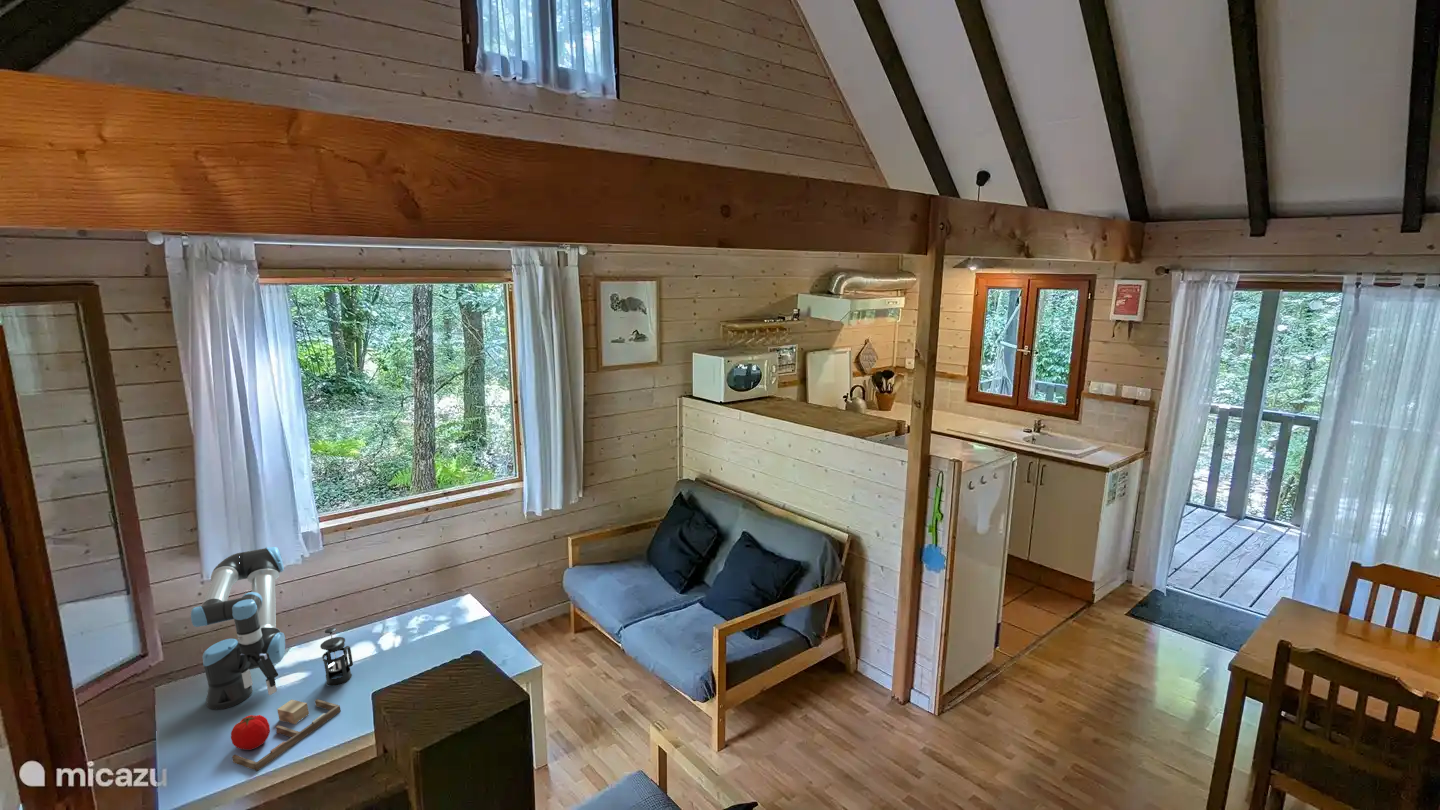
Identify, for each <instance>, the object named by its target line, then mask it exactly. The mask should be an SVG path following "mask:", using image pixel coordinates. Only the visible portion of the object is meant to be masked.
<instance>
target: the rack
mask: <svg viewBox="0 0 1440 810" xmlns="http://www.w3.org/2000/svg"><path fill="white" fill-rule="evenodd" d="M314 704H315V707H317V708H321V709H324V710H327V712H326V713H324V712H323V713H322V714H321V715H319V716H317V718H315V719H314V720H312V721H311V723H309V725H307V726H306V727H304V728H303V729H301V730H299V731H298V730H296V729H291V728H289V727H285V726H282V725H279V724H278V725H277V726H275V731H276V733H277V734H279V735H282V736H286V737H289V738H288V740H286V741H281V742H280V743H279V744H278V745H276V746H275V747H273V748H272V749H271V750H270V751H269V753H267V754H265V756H263V757H262V758H260V759H259V760H258V761H254V760H251V759H248V758H247V757H243V756H240V755H237V754H233V755H231V760H232V763H233V764H237V765H239V766H242V767H244V768H248V769H250V770H252V771H256V772H258V771H259V770H261V769H262V768H264V767H265V766H266V765H268V764H269V763H270V762H272V761H273V760H275V759H276V758H277V757H279V756H281V755H282V754H284V752H286V751H287V750H289V749H291V748H292V746H294V745H295V744H297V743H299V742H300V741H301V740H303V739H304V738H306V737H307V736H308V735H310V734H311V733H313V731H315V730H317V729H318V728H319V727H321V726H323V724H325V723H327V722H328V721H329V720H330V718H331V719H332V718H333V717H335V716H336V715H338V714H339V713H340V712H341V710H342V709H341V706H340V705H338V704H336V703H332V702H330V701H329V702H328V701H325V700H321V699H319V698H317V699H314ZM337 713H338V714H337ZM334 715H335V716H334ZM327 720H328V721H327Z"/></svg>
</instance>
